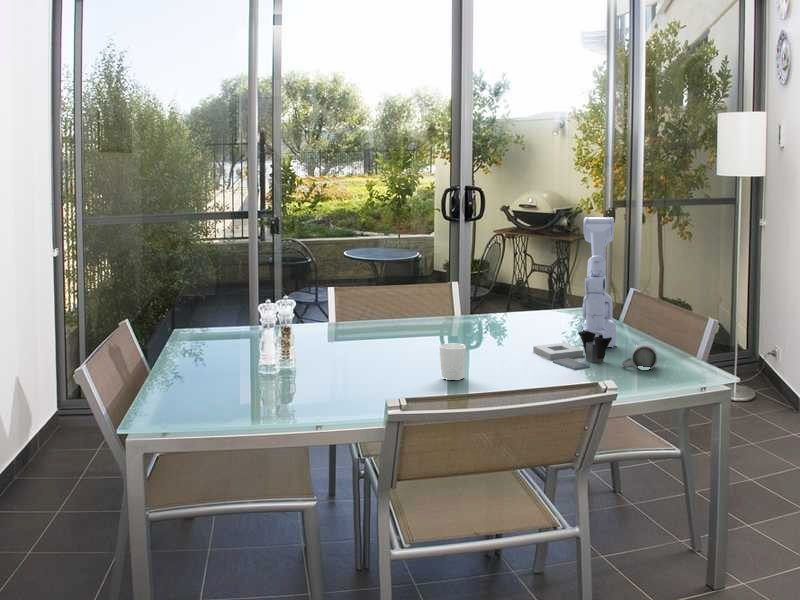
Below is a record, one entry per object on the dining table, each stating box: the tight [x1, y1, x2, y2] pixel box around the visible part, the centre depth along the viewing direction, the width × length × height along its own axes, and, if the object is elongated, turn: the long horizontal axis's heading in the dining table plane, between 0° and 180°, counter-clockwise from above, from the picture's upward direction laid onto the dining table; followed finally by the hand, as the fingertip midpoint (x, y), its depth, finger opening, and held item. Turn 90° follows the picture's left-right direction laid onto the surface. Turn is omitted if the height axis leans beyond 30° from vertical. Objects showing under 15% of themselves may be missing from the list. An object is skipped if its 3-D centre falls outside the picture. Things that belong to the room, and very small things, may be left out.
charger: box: [585, 341, 604, 364], centre depth 298 cm, size 4×4×6 cm
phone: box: [552, 358, 591, 371], centre depth 295 cm, size 6×11×1 cm, turn 27°
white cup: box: [439, 342, 467, 380], centre depth 282 cm, size 8×8×10 cm
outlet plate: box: [532, 342, 584, 361], centre depth 309 cm, size 12×12×2 cm
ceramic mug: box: [621, 342, 658, 370], centre depth 290 cm, size 11×8×8 cm
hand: (594, 355), depth 299 cm, fingers open, 7 cm apart
